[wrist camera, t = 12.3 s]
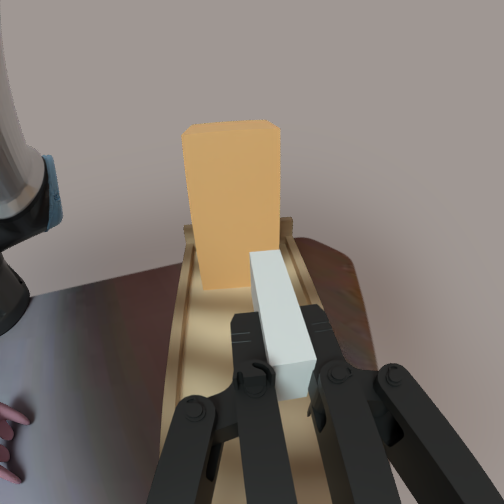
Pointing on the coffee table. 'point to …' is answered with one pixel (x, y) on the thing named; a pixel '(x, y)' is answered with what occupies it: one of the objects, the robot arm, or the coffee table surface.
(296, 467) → the beam
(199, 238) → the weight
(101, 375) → the coffee table surface
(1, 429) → the video game controller
